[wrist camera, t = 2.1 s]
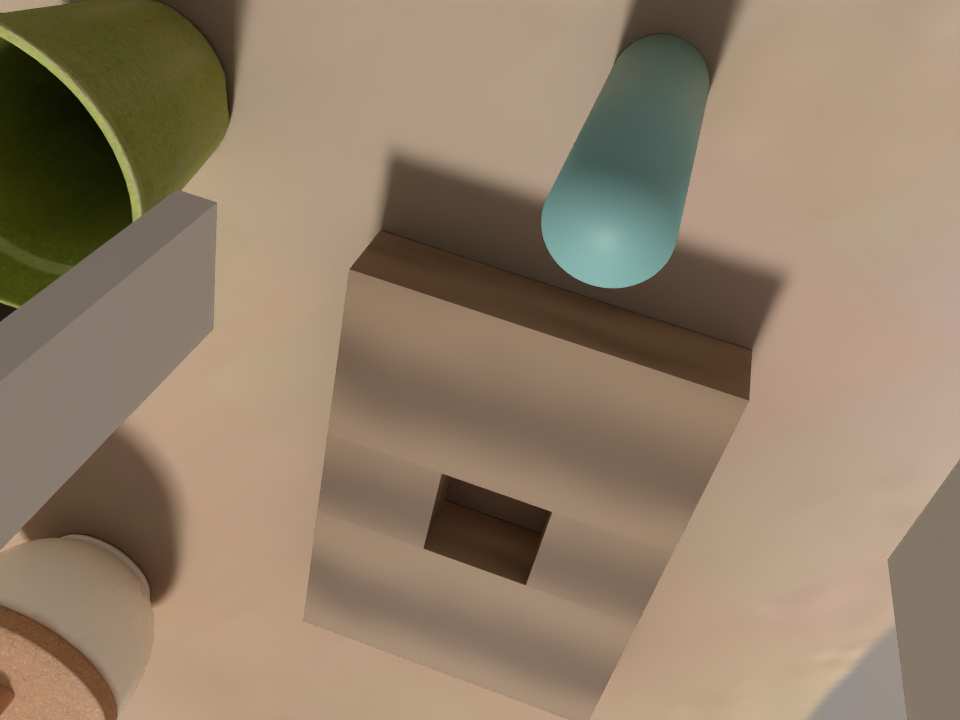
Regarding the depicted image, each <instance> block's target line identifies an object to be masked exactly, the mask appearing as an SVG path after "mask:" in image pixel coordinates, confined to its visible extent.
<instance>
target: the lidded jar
mask: <svg viewBox="0 0 960 720" xmlns="http://www.w3.org/2000/svg"><path fill="white" fill-rule="evenodd" d="M150 596H151V595H150V587H149V583H148V581H147V579H146V577H145V575H144V574H143V572H142V571H141V570H140V568H139V567H138V566H137V565H136V564H135V563H134V562H133V560H131V559H130V558H129V557H128V556H127V555H126V554H124V553H123V552H122V551H120V550H119V549H117V548H116V547H114V546H112V545H111V544H109V543H107V542H105V541H103V540H100V539H97V538H95V537H91V536H87V535H81V534H70V535H65V536H62V537H60V538H45V539H38V540H32V541H28V542H25V543H21V544H19V545H16V546H14V547H11V548H9V549H7V550H5V551H3V552H1V553H0V720H117V718H118V717H119V715H120V714H121V712H122V711H123V709H124V708H125V706H126V704H127V703H128V701H129V699H130V698H131V696H132V695H133V693H134V691H135V690H136V688H137V686H138V684H139V682H140V680H141V678H142V676H143V674H144V671H145V668H146V666H147V663H148V660H149V658H150V654H151V649H152V645H153V640H154V616H153V611H152V606H151V602H150Z"/></svg>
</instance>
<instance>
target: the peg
mask: <svg viewBox="0 0 960 720" xmlns="http://www.w3.org/2000/svg"><path fill="white" fill-rule="evenodd" d="M709 86H710V79H709V72H708V68H707V65H706V63H705V60H704V59H703V57H702V55H701V54H700V53H699V52H698V50H697V49H696V48H695V47H694V46H693V45H691V44H690V43H688V42H687V41H685V40H683V39H681V38H678V37H676V36H672V35H665V34H657V35H650V36H646V37H643V38H641V39H639V40H637V41H635V42H633V43H632V44H630V45H629V46H628V47H627V48H626V49H625V50H624V51H623V52H622V53H621V54H620V56H619V57H618V59H617V60H616V62H615V64H614V66H613V68H612V70H611V72H610V74H609V76H608V78H607V80H606V82H605V84H604V86H603V88H602V90H601V92H600V94H599V96H598V98H597V100H596V102H595V104H594V106H593V108H592V110H591V112H590V114H589V116H588V118H587V120H586V122H585V124H584V126H583V128H582V130H581V132H580V133H579V135H578V137H577V139H576V141H575V143H574V145H573V147H572V149H571V151H570V153H569V155H568V157H567V159H566V161H565V163H564V165H563V167H562V169H561V171H560V173H559V175H558V177H557V179H556V181H555V183H554V185H553V187H552V189H551V191H550V193H549V195H548V197H547V199H546V201H545V204H544V207H543V211H542V217H541V227H542V234H543V239H544V242H545V244H546V247H547V249H548V251H549V253H550V254H551V256H552V257H553V259H554V260H555V261H556V263H557V264H558V265H559V266H560V267H561V268H562V269H563V270H565V271H566V272H567V273H568V274H570V275H571V276H573V277H574V278H576V279H578V280H580V281H582V282H584V283H587V284H590V285H593V286H597V287H603V288H624V287H629V286H633V285H636V284H639V283H641V282H643V281H645V280H648V279H649V278H651V277H652V276H654V275H655V274H656V273H657V272H659V271H660V270H661V269H662V268H663V267H664V265H665V264H666V263H667V262H668V260H669V259H670V257H671V255H672V253H673V251H674V248H675V245H676V242H677V237H678V233H679V228H680V223H681V219H682V214H683V209H684V205H685V200H686V195H687V191H688V186H689V181H690V177H691V172H692V167H693V163H694V158H695V153H696V149H697V144H698V139H699V135H700V130H701V125H702V121H703V116H704V111H705V107H706V102H707V97H708V93H709Z"/></svg>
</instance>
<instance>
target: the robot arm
mask: <svg viewBox="0 0 960 720" xmlns="http://www.w3.org/2000/svg"><path fill="white" fill-rule="evenodd" d="M216 219H217V202H214V201H211V200H208V199H205V198H202V197H198V196H195V195H192V194H189V193H186V192H183V191H180V190H176V191H174V192H173V193H172V194H170V195H169V196H167V197H166V198H165V199H163V200H162V201H161V202H159V203H158V204H157V205H155V206H154V207H153V208H151V209H150V210H149V211H147V212H146V213H145V214H143V215H142V216H141V217H139V218H138V219H137V220H135V221H134V222H133V223H131V224H130V225H129V226H127V227H126V228H125V229H123V230H122V231H121V232H119V233H118V234H117V235H115V236H114V237H113V238H111V239H110V240H109V241H107V242H106V243H105V244H103V245H102V246H101V247H99V248H98V249H97V250H95V251H94V252H93V253H91V254H90V255H89V256H87V257H86V258H85V259H83V260H82V261H81V262H79V263H78V264H77V265H75V266H74V267H73V268H71V269H70V270H69V271H67V272H66V273H65V274H63V275H62V276H61V277H59V278H58V279H57V280H55V281H54V282H53V283H51V284H50V285H49V286H47V287H46V288H45V289H43V290H42V291H41V292H39V293H38V294H37V295H35V296H34V297H33V298H31V299H30V300H29V301H27V302H26V303H25V304H23V305H22V306H21V307H19V308H15V307H12V306H9V305H6V304H3V303H0V550H1V549H2V548H3V547H4V546H5V545H6V544H7V543H8V542H9V541H10V539H11V538H12V537H13V536H14V535H15V534H16V533H17V532H18V531H19V530H20V529H21V528H22V527H23V526H24V525H25V524H26V523H27V522H28V521H29V520H30V519H31V518H32V517H33V516H34V515H35V514H36V512H37V511H38V510H39V509H40V508H41V507H42V506H43V505H44V504H45V503H46V502H47V501H48V500H49V499H50V498H51V497H52V496H53V495H54V494H55V493H56V492H57V491H58V490H59V489H60V488H61V486H62V485H63V484H64V483H65V482H66V481H67V480H68V479H69V478H70V477H71V476H72V475H73V474H74V473H75V472H76V471H77V470H78V469H79V468H80V467H81V466H82V465H83V464H84V463H85V462H86V460H87V459H88V458H89V457H90V456H91V455H92V454H93V453H94V452H95V451H96V450H97V449H98V448H99V447H100V446H101V445H102V444H103V443H104V442H105V441H106V440H107V439H108V438H109V437H110V436H111V435H112V433H113V432H114V431H115V430H116V429H117V428H118V427H119V426H120V425H121V424H122V423H123V422H124V421H125V420H126V419H127V418H128V417H129V416H130V415H131V414H132V413H133V412H134V411H135V410H136V409H137V407H138V406H139V405H140V404H141V403H142V402H143V401H144V400H145V399H146V398H147V397H148V396H149V395H150V394H151V393H152V392H153V391H154V390H155V389H156V388H157V387H158V386H159V385H160V384H161V383H162V381H163V380H164V379H165V378H166V377H167V376H168V375H169V374H170V373H171V372H172V371H173V370H174V369H175V368H176V367H177V366H178V365H179V364H180V363H181V362H182V361H183V360H184V359H185V358H186V357H187V356H188V354H189V353H190V352H191V351H192V350H193V349H194V348H195V347H196V346H197V345H198V344H199V343H200V342H201V341H202V340H203V339H204V338H205V337H206V336H207V335H208V334H209V333H210V332H211V331H212V330H213V321H214V287H215V253H216ZM888 566H889V574H890V583H891V591H892V599H893V607H894V615H895V623H896V632H897V640H898V648H899V656H900V664H901V672H902V680H903V689H904V696H905V704H906V712H907V720H960V460H959V461H958V463H957V464H956V465H955V467H954V468H953V470H952V471H951V472H950V474H949V475H948V477H947V478H946V479H945V481H944V482H943V483H942V485H941V486H940V488H939V489H938V490H937V492H936V493H935V495H934V496H933V497H932V499H931V500H930V502H929V503H928V504H927V506H926V507H925V509H924V510H923V511H922V513H921V514H920V515H919V517H918V518H917V520H916V521H915V522H914V524H913V525H912V527H911V528H910V529H909V531H908V532H907V534H906V535H905V536H904V538H903V539H902V540H901V542H900V543H899V545H898V546H897V547H896V549H895V550H894V552H893V553H892V554H891V556H890V557H889V559H888Z"/></svg>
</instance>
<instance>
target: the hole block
mask: <svg viewBox="0 0 960 720" xmlns="http://www.w3.org/2000/svg"><path fill="white" fill-rule="evenodd" d="M751 359H752V351H751V350H748V349H745V348H742V347H739V346H736V345H733V344H730V343H727V342H724V341H721V340H717V339H714V338H711V337H708V336H705V335H702V334H699V333H696V332H693V331H690V330H687V329H683V328H680V327H677V326H674V325H671V324H668V323H665V322H662V321H659V320H656V319H653V318H649V317H646V316H643V315H640V314H637V313H634V312H631V311H628V310H625V309H622V308H619V307H615V306H612V305H609V304H606V303H603V302H600V301H597V300H594V299H591V298H588V297H585V296H581V295H578V294H575V293H572V292H569V291H566V290H563V289H560V288H557V287H554V286H551V285H547V284H544V283H541V282H538V281H535V280H532V279H529V278H526V277H523V276H520V275H517V274H513V273H510V272H507V271H504V270H501V269H498V268H495V267H492V266H489V265H486V264H483V263H479V262H476V261H473V260H470V259H467V258H464V257H461V256H458V255H455V254H452V253H449V252H445V251H442V250H439V249H436V248H433V247H430V246H427V245H424V244H421V243H418V242H415V241H411V240H408V239H405V238H402V237H399V236H396V235H393V234H390V233H387V232H384V231H381V230H380V232H379V233H378V234H377V235H376V237H375V238H374V239H373V240H372V242H371V243H370V244H369V245H368V247H367V248H366V249H365V250H364V252H363V253H362V254H361V255H360V257H359V258H358V259H357V260H356V262H355V263H354V264H353V265H352V267H351V268H350V269H349V276H348V284H347V292H346V299H345V307H344V315H343V322H342V330H341V337H340V345H339V353H338V360H337V368H336V376H335V383H334V391H333V398H332V406H331V414H330V421H329V429H328V436H327V444H326V452H325V459H324V467H323V475H322V482H321V490H320V497H319V505H318V513H317V520H316V528H315V536H314V543H313V551H312V558H311V566H310V574H309V581H308V589H307V596H306V604H305V612H304V619H303V621H305V622H307V623H310V624H313V625H315V626H318V627H321V628H324V629H326V630H329V631H332V632H334V633H337V634H340V635H342V636H345V637H348V638H350V639H353V640H356V641H358V642H361V643H364V644H367V645H369V646H372V647H375V648H377V649H380V650H383V651H385V652H388V653H391V654H393V655H396V656H399V657H402V658H404V659H407V660H410V661H412V662H415V663H418V664H420V665H423V666H426V667H428V668H431V669H434V670H437V671H439V672H442V673H445V674H447V675H450V676H453V677H455V678H458V679H461V680H463V681H466V682H469V683H472V684H474V685H477V686H480V687H482V688H485V689H488V690H490V691H493V692H496V693H498V694H501V695H504V696H507V697H509V698H512V699H515V700H517V701H520V702H523V703H525V704H528V705H531V706H533V707H536V708H539V709H542V710H544V711H547V712H550V713H552V714H555V715H558V716H560V717H563V718H566V719H568V720H589V719H590V717H591V715H592V713H593V711H594V709H595V707H596V705H597V703H598V701H599V699H600V697H601V695H602V693H603V691H604V689H605V687H606V685H607V683H608V681H609V679H610V677H611V675H612V673H613V671H614V669H615V667H616V665H617V663H618V661H619V659H620V657H621V655H622V653H623V651H624V649H625V647H626V645H627V643H628V641H629V639H630V637H631V635H632V633H633V631H634V629H635V627H636V625H637V623H638V621H639V619H640V617H641V615H642V613H643V611H644V609H645V607H646V605H647V603H648V601H649V599H650V597H651V595H652V593H653V591H654V589H655V587H656V585H657V583H658V581H659V579H660V577H661V575H662V573H663V571H664V569H665V567H666V565H667V563H668V561H669V559H670V557H671V555H672V553H673V551H674V549H675V547H676V545H677V543H678V541H679V539H680V537H681V535H682V534H683V532H684V530H685V528H686V526H687V524H688V522H689V520H690V518H691V516H692V514H693V512H694V510H695V508H696V506H697V504H698V502H699V500H700V498H701V496H702V494H703V492H704V490H705V488H706V486H707V484H708V482H709V480H710V478H711V476H712V474H713V472H714V470H715V468H716V466H717V464H718V462H719V460H720V458H721V456H722V454H723V452H724V450H725V448H726V446H727V444H728V442H729V440H730V438H731V436H732V434H733V432H734V430H735V428H736V426H737V424H738V422H739V420H740V418H741V416H742V414H743V412H744V410H745V408H746V406H747V404H748V402H749V393H750V376H751ZM451 477H453V478H456V479H459V480H462V481H465V482H468V483H471V484H473V485H476V486H479V487H482V488H485V489H488V490H491V491H494V492H496V493H499V494H502V495H505V496H508V497H511V498H514V499H516V500H519V501H522V502H525V503H528V504H531V505H534V506H537V507H539V508H542V509H545V510H548V511H550V512H549V514H548V517H547V520H546V523H545V526H544V528H543V531H542V534H539V533H536V532H534V531H531V530H528V529H525V528H522V527H519V526H517V525H514V524H511V523H508V522H505V521H502V520H500V519H497V518H494V517H491V516H488V515H485V514H482V513H480V512H477V511H474V510H471V509H468V508H465V507H463V506H460V505H457V504H454V503H451V502H448V501H445V497H446V493H447V489H448V485H449V481H450V478H451Z"/></svg>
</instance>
